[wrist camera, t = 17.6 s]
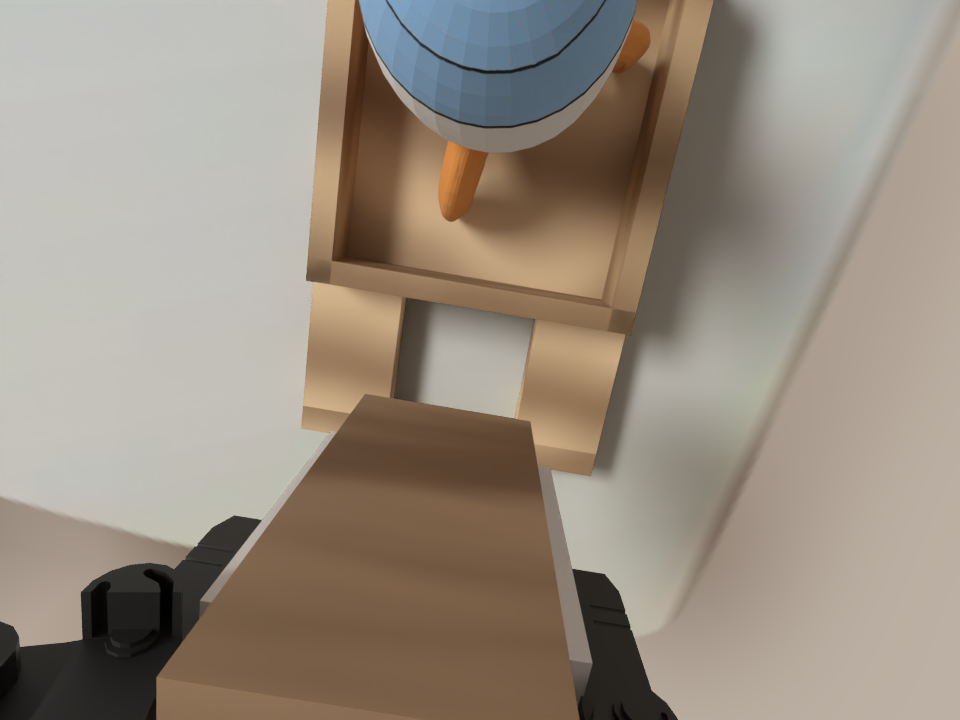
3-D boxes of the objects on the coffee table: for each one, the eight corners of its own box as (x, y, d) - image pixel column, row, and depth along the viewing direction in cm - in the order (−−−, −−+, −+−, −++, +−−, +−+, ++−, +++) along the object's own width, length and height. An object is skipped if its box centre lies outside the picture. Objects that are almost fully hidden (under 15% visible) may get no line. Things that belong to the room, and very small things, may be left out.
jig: (354, -86, 22) (324, -149, 18) (703, -23, 22) (746, -72, 19) (311, 417, 28) (282, 449, 24) (585, 463, 29) (599, 501, 25)
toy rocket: (646, 10, 22) (924, -93, 9) (538, 241, 27) (619, 397, 14) (416, -115, 20) (340, -489, 7) (339, 159, 25) (204, 250, 11)
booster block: (365, 393, 14) (156, 677, 5) (530, 421, 14) (583, 744, 6) (348, 538, 15) (156, 958, 7) (501, 562, 15) (507, 1012, 7)
